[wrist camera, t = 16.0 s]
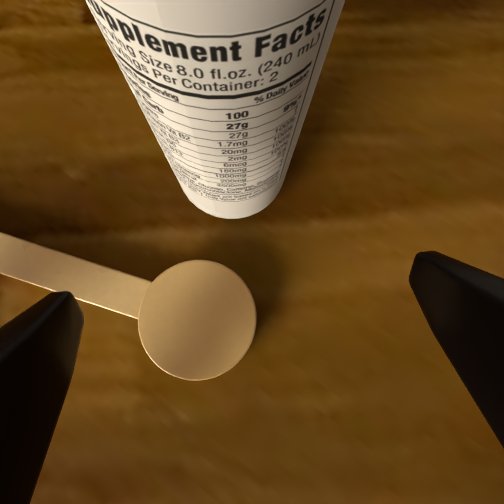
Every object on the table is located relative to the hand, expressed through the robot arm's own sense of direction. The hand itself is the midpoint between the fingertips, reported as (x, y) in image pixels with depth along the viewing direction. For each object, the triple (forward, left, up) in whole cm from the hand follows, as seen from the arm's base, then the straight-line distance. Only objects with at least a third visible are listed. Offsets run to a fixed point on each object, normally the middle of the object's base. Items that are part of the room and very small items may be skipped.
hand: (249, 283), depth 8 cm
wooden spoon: (-2, +8, -9) cm, 12 cm away
